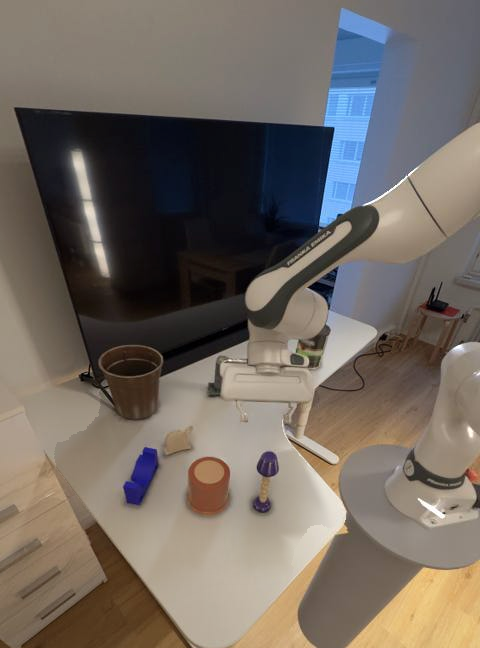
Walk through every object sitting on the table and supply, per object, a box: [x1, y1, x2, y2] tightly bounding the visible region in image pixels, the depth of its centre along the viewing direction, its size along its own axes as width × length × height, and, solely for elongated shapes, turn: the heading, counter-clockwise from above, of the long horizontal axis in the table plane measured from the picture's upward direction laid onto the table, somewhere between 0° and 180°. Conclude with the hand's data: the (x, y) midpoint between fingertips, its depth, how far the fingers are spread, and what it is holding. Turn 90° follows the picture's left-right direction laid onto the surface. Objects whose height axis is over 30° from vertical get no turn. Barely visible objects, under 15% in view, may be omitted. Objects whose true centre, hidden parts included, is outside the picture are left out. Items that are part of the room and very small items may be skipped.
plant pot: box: [98, 344, 164, 421], centre depth 95 cm, size 16×16×16 cm
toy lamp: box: [252, 450, 280, 514], centre depth 73 cm, size 5×5×17 cm
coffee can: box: [295, 324, 332, 371], centre depth 123 cm, size 10×10×14 cm
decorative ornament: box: [163, 425, 194, 456], centre depth 89 cm, size 4×8×5 cm, turn 115°
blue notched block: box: [122, 446, 160, 507], centre depth 79 cm, size 12×4×6 cm, turn 170°
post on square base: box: [206, 355, 229, 398], centre depth 106 cm, size 9×8×12 cm
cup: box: [186, 456, 231, 516], centre depth 76 cm, size 10×10×9 cm
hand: (265, 422), depth 75 cm, fingers open, 8 cm apart
